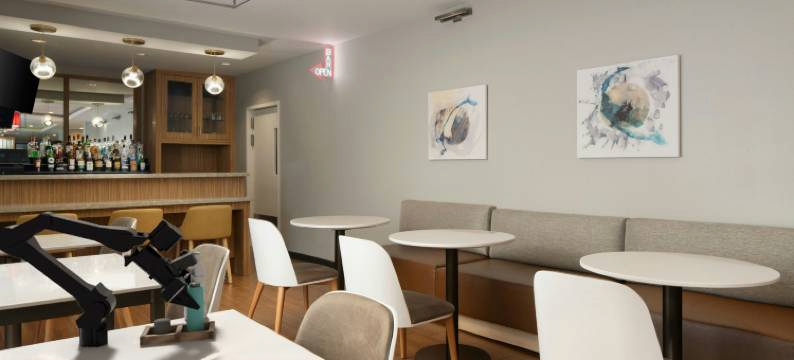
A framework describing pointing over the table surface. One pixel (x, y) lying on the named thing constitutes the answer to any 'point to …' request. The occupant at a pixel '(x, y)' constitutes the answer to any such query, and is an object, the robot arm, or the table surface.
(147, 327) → the tray
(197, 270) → the plastic bottle
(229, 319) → the table surface
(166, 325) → the dark gray rounded cylinder
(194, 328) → the teal rounded cylinder
